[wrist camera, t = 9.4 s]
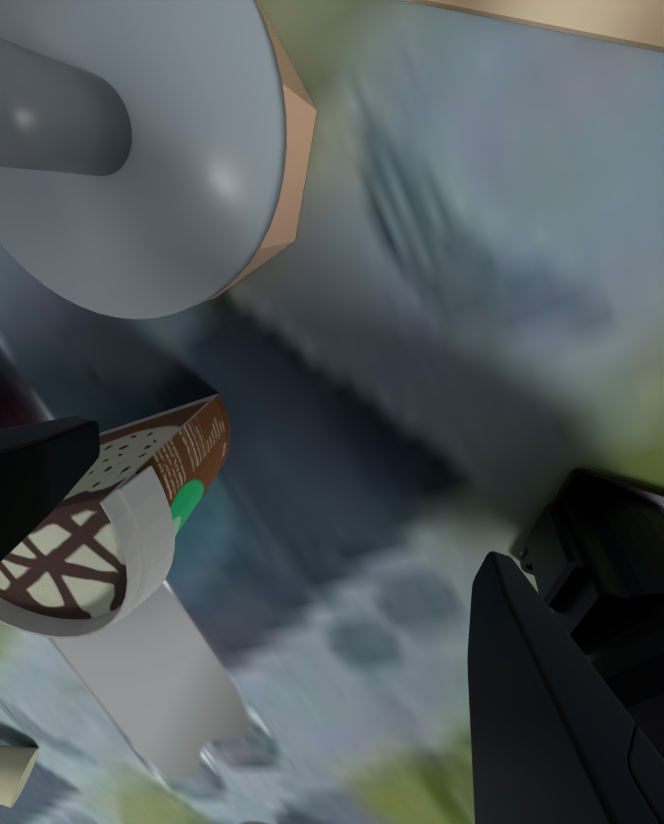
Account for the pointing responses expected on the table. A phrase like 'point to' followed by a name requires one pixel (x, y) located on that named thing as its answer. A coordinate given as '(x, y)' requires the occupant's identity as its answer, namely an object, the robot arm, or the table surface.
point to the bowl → (287, 161)
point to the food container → (115, 524)
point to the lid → (138, 147)
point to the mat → (576, 17)
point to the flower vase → (14, 771)
